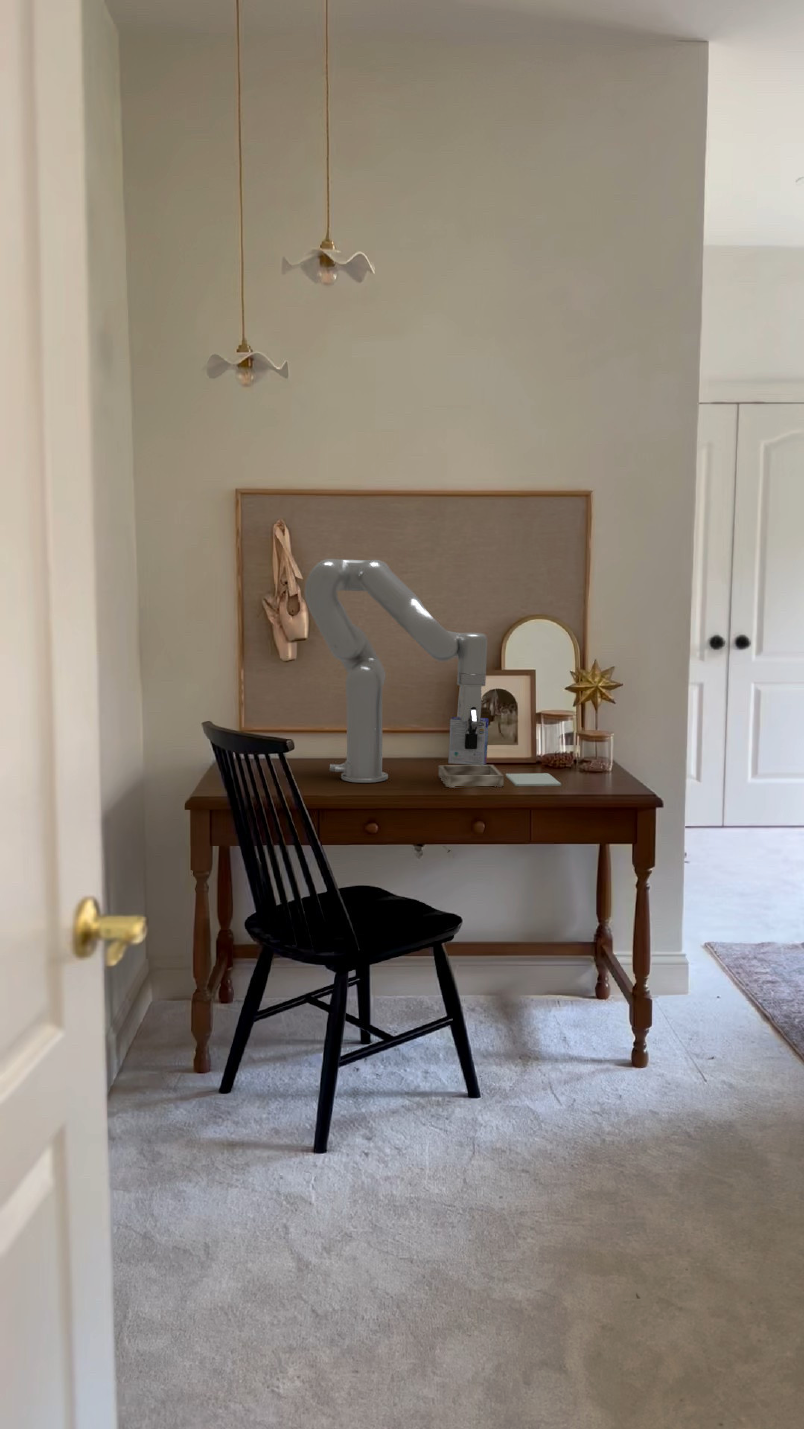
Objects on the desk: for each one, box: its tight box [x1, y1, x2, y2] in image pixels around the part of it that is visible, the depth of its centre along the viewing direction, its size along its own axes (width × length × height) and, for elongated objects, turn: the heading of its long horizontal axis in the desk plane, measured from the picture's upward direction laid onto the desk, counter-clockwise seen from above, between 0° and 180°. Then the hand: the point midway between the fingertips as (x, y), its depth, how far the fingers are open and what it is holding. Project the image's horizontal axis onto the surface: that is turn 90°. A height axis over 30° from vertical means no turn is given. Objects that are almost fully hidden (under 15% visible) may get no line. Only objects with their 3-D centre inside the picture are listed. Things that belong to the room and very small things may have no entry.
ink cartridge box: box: [447, 716, 489, 766], centre depth 292 cm, size 10×6×14 cm, turn 79°
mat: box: [505, 772, 562, 787], centre depth 295 cm, size 12×14×1 cm
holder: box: [438, 764, 504, 788], centre depth 293 cm, size 15×15×3 cm
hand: (468, 745), depth 292 cm, fingers closed on ink cartridge box, 6 cm apart
